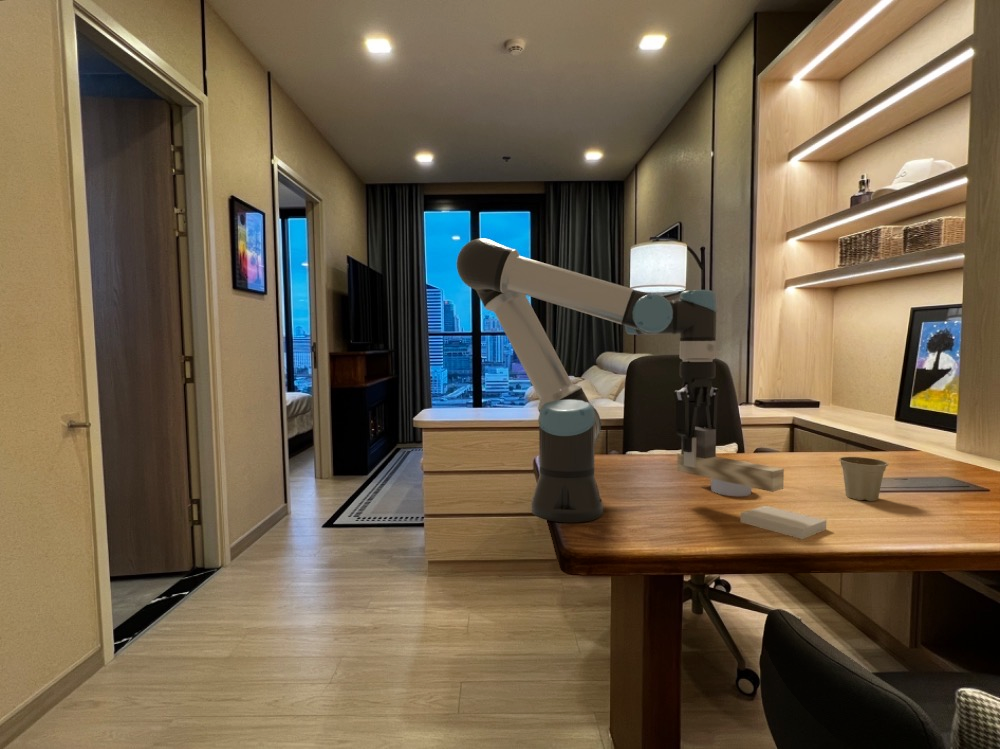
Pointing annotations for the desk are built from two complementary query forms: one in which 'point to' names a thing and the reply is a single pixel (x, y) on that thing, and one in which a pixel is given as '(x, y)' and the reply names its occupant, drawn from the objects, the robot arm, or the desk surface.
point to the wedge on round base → (729, 488)
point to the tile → (783, 521)
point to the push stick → (728, 465)
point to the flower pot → (862, 477)
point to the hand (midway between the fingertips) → (696, 464)
